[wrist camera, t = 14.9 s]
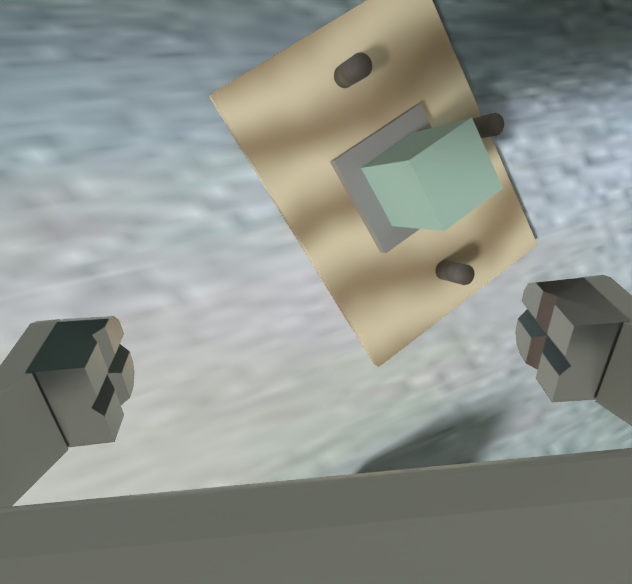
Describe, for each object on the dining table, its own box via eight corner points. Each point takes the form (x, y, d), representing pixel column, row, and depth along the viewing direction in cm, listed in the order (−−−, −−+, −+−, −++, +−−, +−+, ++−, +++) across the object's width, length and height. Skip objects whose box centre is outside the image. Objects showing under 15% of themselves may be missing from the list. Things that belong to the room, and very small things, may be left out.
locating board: (209, 96, 33) (216, 83, 30) (412, -25, 36) (442, -51, 33) (373, 363, 41) (396, 379, 37) (529, 243, 44) (564, 247, 40)
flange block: (329, 161, 36) (377, 150, 28) (413, 106, 37) (480, 82, 30) (380, 252, 38) (436, 264, 31) (456, 197, 40) (528, 196, 32)
